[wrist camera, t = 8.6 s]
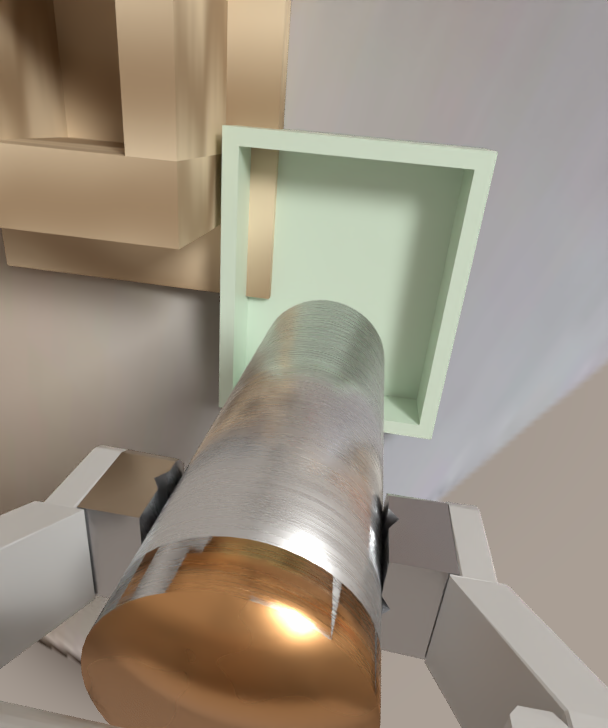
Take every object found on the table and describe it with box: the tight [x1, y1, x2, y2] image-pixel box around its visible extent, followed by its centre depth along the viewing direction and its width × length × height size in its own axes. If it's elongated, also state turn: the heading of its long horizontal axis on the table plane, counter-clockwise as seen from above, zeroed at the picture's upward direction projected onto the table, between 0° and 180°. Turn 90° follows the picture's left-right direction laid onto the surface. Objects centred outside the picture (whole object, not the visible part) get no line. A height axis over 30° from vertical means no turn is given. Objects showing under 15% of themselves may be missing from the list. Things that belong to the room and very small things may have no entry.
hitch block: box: [0, 0, 291, 299], centre depth 17 cm, size 16×12×6 cm
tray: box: [219, 125, 498, 439], centre depth 21 cm, size 11×9×3 cm
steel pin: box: [81, 300, 385, 728], centre depth 10 cm, size 4×4×10 cm
